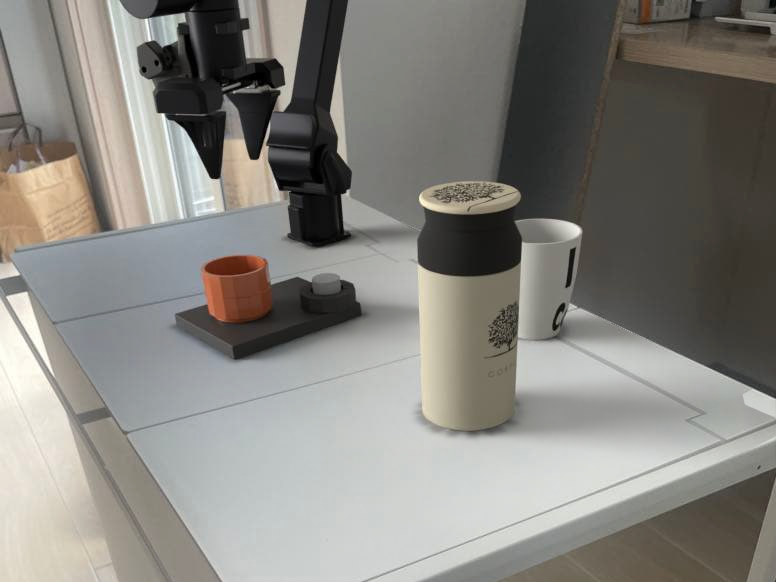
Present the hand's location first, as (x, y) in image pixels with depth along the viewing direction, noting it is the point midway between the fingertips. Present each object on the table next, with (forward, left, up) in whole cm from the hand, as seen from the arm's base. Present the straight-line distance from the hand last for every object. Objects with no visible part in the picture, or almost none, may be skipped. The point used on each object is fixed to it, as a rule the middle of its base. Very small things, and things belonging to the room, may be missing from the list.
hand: (235, 169), depth 96 cm
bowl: (+9, +14, -11) cm, 20 cm away
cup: (-11, +37, -12) cm, 40 cm away
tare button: (+2, +19, -9) cm, 21 cm away
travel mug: (+6, +45, -12) cm, 47 cm away
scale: (+7, +15, -12) cm, 20 cm away
